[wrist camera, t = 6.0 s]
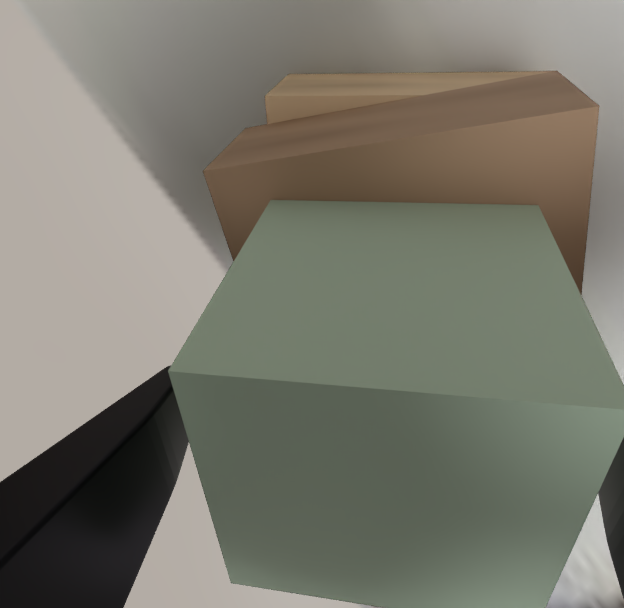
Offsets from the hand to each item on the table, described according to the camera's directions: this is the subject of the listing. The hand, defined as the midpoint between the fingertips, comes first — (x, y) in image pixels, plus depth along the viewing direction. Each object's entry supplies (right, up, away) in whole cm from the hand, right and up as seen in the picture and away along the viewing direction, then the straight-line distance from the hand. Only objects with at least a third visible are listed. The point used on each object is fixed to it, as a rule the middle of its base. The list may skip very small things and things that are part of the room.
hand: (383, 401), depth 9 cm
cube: (0, +2, +2) cm, 3 cm away
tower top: (+1, +3, +4) cm, 6 cm away
